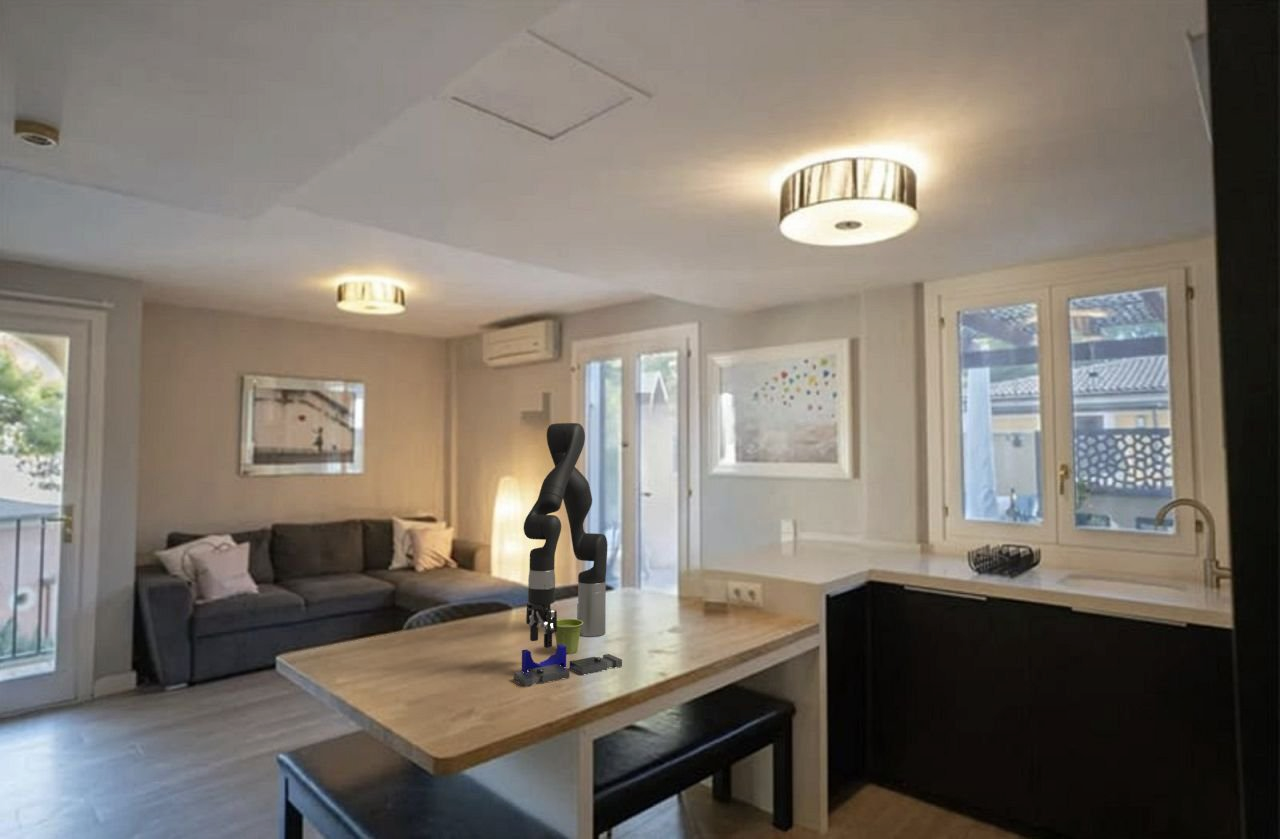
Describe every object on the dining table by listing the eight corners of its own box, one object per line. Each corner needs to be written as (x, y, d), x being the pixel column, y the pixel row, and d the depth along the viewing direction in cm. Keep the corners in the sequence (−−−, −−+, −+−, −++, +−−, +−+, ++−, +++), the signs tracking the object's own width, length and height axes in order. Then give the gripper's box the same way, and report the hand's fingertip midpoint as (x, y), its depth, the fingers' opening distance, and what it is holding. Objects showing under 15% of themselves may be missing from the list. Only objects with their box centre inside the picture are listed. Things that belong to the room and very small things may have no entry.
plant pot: (589, 651, 212) (589, 622, 212) (565, 657, 205) (566, 627, 206) (569, 645, 218) (569, 617, 219) (545, 651, 212) (545, 622, 212)
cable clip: (560, 664, 199) (560, 643, 200) (566, 668, 195) (566, 647, 196) (519, 670, 193) (520, 648, 194) (525, 675, 190) (525, 652, 190)
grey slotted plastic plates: (513, 679, 185) (513, 670, 185) (608, 660, 202) (608, 651, 202) (525, 687, 179) (525, 676, 179) (622, 666, 196) (622, 657, 196)
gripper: (518, 583, 200) (517, 640, 199) (541, 590, 189) (540, 651, 188) (542, 580, 205) (541, 637, 204) (565, 588, 193) (564, 647, 192)
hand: (540, 644), depth 196 cm, fingers open, 8 cm apart
